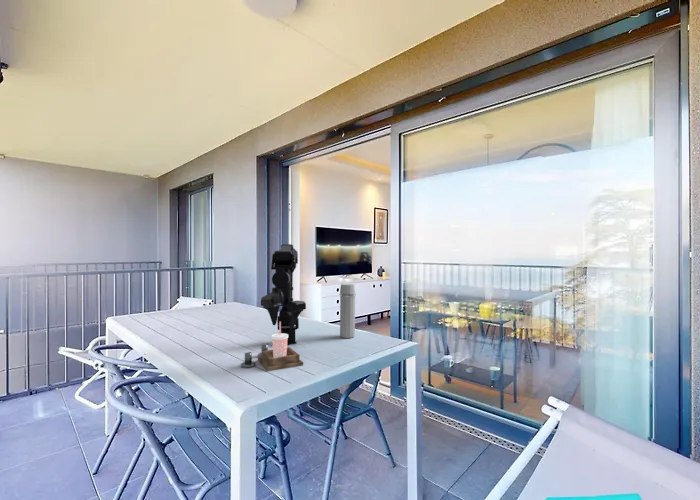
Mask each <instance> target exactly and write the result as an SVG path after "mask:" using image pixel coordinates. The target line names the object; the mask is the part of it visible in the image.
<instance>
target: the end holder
mask: <svg viewBox="0 0 700 500" xmlns="http://www.w3.org/2000/svg"><path fill="white" fill-rule="evenodd" d="M260 353H261V357H258V356H257V362H259V364H260V365H261V366H262V367H263V368H264V370H265V371H266V372H271V371H276V370H282V369H288V368H294V367H295V368H296V367H301V366H303V365H304V361H302V360H301V359H300V354H299V353H298V352H297V351H295V350H294V349H293V348H291V347H290V346H287V355H286V356H282V357H276V358H273V349H268V350H265V351H260Z"/></svg>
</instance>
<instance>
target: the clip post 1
mask: <svg viewBox="0 0 700 500" xmlns="http://www.w3.org/2000/svg"><path fill="white" fill-rule="evenodd" d="M254 367H256V362H255V361H254V360H253V353H252V352H250V351H248V352H245V353H244V361H243V362H241V363H240V368H243V369H251V368H254Z"/></svg>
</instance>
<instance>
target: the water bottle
mask: <svg viewBox="0 0 700 500" xmlns="http://www.w3.org/2000/svg"><path fill="white" fill-rule="evenodd" d="M338 295H339V296H340V298H339V299H340V300H339V303H340V304H339V305H340V307H339V308H340V309H339V313H340V314H339V320H340V321H339V336H340V338H343V339H352V338H354V337H355V335H356V333H355V331H356V295H357V294H356V288H355V284H354V283H340V288H339V294H338Z"/></svg>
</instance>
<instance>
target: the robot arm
mask: <svg viewBox="0 0 700 500" xmlns="http://www.w3.org/2000/svg"><path fill="white" fill-rule="evenodd" d="M271 257H272V258H271V268H270V269H271V271H272V270H273V271H274V273H273V275H272V276H271V282H272V285H273V286H274V287H272V289H271V292H270V293H269V292H268V293H267V294H266V295H263V296H262V297H261V298H260V306H262V308H263V309H265V311H267V312H268V315H269V317H270V320H271V321H270V322H271V323H272V326H276V325H277V331H279V322H280V321H281V333H285V334H288V340H287V345H292V344H297V341H296V330H298V329H300V328H299V327H300V325H299V322H300V320H299V316H300V315H301V313H302V312H303V311H304V310H306V309H307V304H306V302H305V301H304V300H294V297H293V290H294V287H293V284H294V283H293V281H294V280H293V278H294V277H293V274H294V272H295V270H296V268H297V265H298V263H299V254H298V251H297V249H295V248H294V245H293V244H291V243H290V244H286V243H285V244H281V245H280V249H279V250H274V252H273V253H272V256H271ZM280 307H281V309H280Z"/></svg>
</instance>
